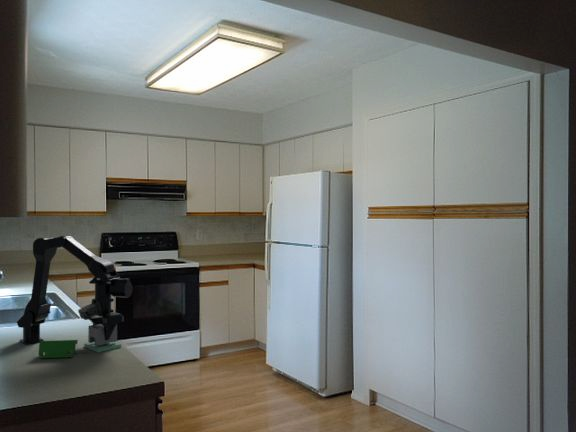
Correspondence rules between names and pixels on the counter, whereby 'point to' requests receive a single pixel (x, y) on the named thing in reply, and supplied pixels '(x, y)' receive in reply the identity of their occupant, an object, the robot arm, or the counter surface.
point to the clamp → (57, 348)
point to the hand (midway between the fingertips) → (102, 338)
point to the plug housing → (100, 335)
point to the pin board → (102, 346)
